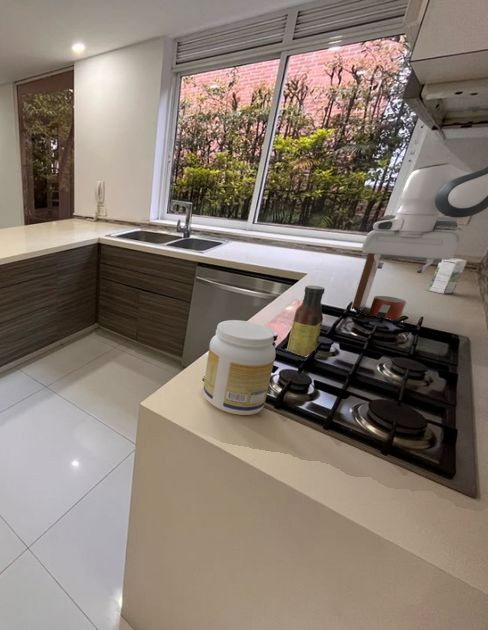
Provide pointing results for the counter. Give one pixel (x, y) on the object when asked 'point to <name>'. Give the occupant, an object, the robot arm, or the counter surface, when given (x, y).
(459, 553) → the counter surface
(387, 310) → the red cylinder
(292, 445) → the counter surface
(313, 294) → the sauce bottle
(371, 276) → the flag
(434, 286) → the syrup box
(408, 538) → the counter surface
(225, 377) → the supplement tub
